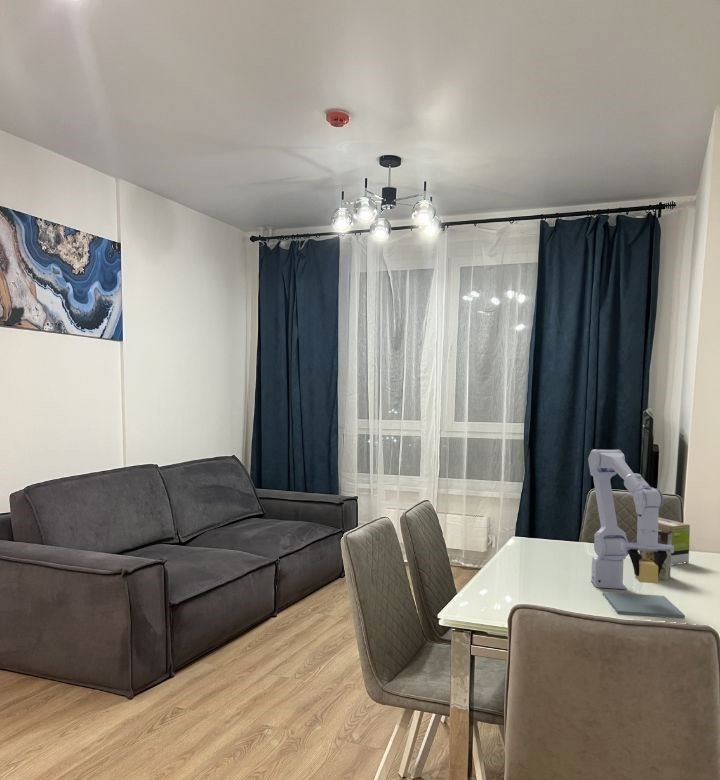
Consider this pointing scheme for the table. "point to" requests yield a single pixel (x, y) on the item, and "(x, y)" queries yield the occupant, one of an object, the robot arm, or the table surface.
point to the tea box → (677, 539)
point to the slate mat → (642, 605)
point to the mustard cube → (647, 572)
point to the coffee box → (666, 539)
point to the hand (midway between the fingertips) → (646, 575)
